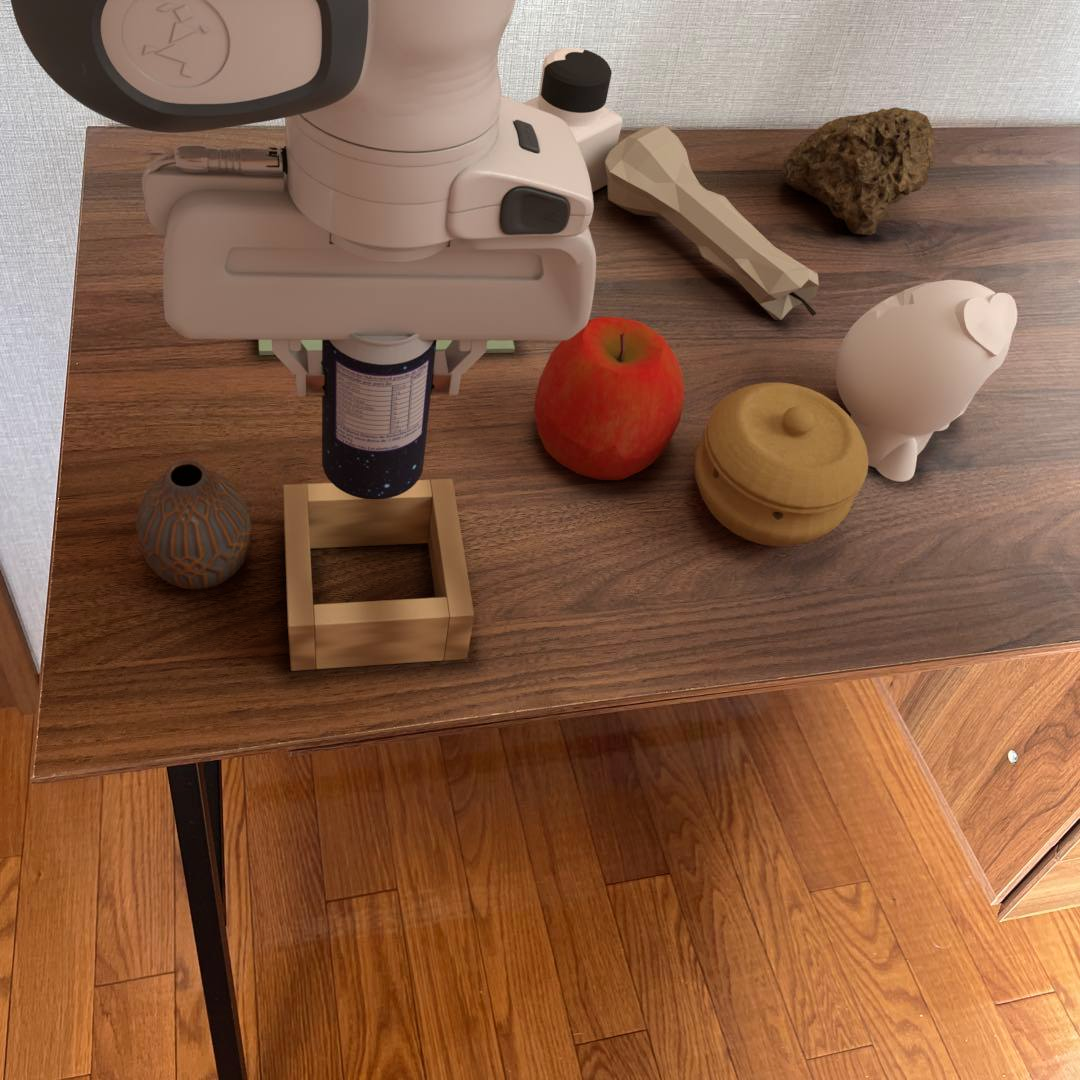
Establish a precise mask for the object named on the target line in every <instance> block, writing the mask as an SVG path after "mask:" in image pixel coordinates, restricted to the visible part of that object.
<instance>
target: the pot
mask: <svg viewBox="0 0 1080 1080" xmlns="http://www.w3.org/2000/svg"><path fill="white" fill-rule="evenodd" d="M703 433H704V434H703V436H702V437H701V438H700V440H699V442H698V443H697V446H696V450H695V453H694V456H693V469H694V479H695V481H696V484H697V485H696V486H697V488H698V490H699V493H700V496H701V498H702V500H703V502H704V503H705V505H706V507H707V509H708V510H709V512H710V513H711V515H712V516H713V517H714V518H715V519H716V520H717V521H718V522H719V523H720V524H721V525H722V526H723V527H725V528H726V529H727V530H729V531H731V533H733V534H734V535H737V536H739V537H741V538H743V539H745V540H747V541H750V542H753V543H756V544H759V545H763V546H770V547H791V546H797V545H800V544H805V543H809V542H812V541H815V540H817V539H819V538H821V537H823V536H825V535H827V534H828V533H830V532H832V531H833V530H835V529H836V528H837V527H838V526H839V525H840V524H841V523H842V522H843V521H844V520H845V519H846V518H847V516H848V514H849V512H850V510H851V507H852V505H853V503H854V502H853V501H854V498H855V497H856V496H857V495H858V494H859V493H860V491H861V488H862V486H863V485H864V482H865V480H866V477H867V475H868V472H869V465H868V463H869V460H868V454H867V448H866V444H865V442H864V440H863V438H862V435H861V433H860V431H859V429H858V427H857V426H856V424H855V423H854V422H853V421H852V419H851V418H850V415H849V414H848V413H847V412H846V411H845V410H844V409H843V408H841V406H840V405H839V404H837V403H836V402H834V401H833V400H832V399H830V398H828V397H827V396H826V395H824V394H822V393H820V392H818V391H816V390H813V389H812V388H809V387H806V386H801V385H798V384H795V383H787V382H782V381H781V382H780V381H779V382H777V381H775V382H760V383H755V384H750V385H747V386H744V387H741V388H739V389H737V390H735V391H733V392H730V393H729V394H727V395H726V396H725V397H723V398H722V399H721V400H720V401H719V402H717V404H716V405H715V407H714V408H713V410H712V411H711V412H710V414H709V417H708V418H707V421H706V425H705V427H704V432H703Z"/></svg>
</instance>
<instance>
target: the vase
mask: <svg viewBox="0 0 1080 1080" xmlns="http://www.w3.org/2000/svg"><path fill="white" fill-rule="evenodd" d="M250 513H251V512H250V510H249V507H248V504H247V503H246V501H245V499H244V497H243V495H242V494H241V492H240V491H239V489H237V487H236V486H235V485H234V483H232V481H230V480H229V479H228V478H226V477H225V476H223V475H221V474H220V473H218V472H216V471H213V470H211V469H208V468H207V467H206V466H205V465H203V464H202V463H201V462H199V461H196V460H193V459H183V460H178V461H176V462H174V463H172V464H171V465H169V467H168V468H167V469H166V471H165V473H164V474H163V475H161V477H159V478H157V479H156V480H155V481H154V482H153V483H152V484H151V485H150V486H149V487H148V489H147V490H146V492H145V493H144V495H143V496H142V498H141V501H140V504H139V507H138V510H137V516H136V521H135V522H136V524H135V526H136V527H135V529H136V530H135V531H136V539H137V542H138V545H139V548H140V551H141V553H142V556H143V558H144V560H145V561H146V562H147V564H148V566H149V567H150V568H151V570H153V572H154V573H155V574H156V575H157V576H158V577H160V578H161V579H163V580H164V581H165V582H167V583H169V584H170V585H172V586H175V587H179V588H183V589H188V590H189V589H190V590H203V589H209V588H213V587H215V586H218V585H220V584H222V583H224V582H226V581H227V580H228V579H230V578H232V577H233V576H234V575H235V574H236V573H237V572H238V571H239V570H240V568H241V567H242V566H243V564H244V562H245V560H246V559H247V556H248V554H249V551H250V547H251V543H252V532H253V531H252V530H253V527H252V519H251V518H252V517H251V514H250Z"/></svg>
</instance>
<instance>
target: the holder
mask: <svg viewBox="0 0 1080 1080" xmlns="http://www.w3.org/2000/svg"><path fill="white" fill-rule="evenodd" d="M282 501H283V502H282V503H283V528H284V532H283V533H284V551H285V552H284V554H285V555H284V557H285V577H286V578H285V583H286V585H285V586H286V608H287V609H286V611H287V631H288V632H287V633H288V635H287V636H288V649H289V663H290V671H292V672H297V671H298V672H299V671H310V670H324V669H325V670H326V669H337V668H352V667H367V666H368V667H369V666H383V665H395V664H396V665H397V664H410V663H411V664H412V663H425V662H427V663H428V662H438V661H439V662H441V661H444V662H445V661H458V660H467V659H468V656H469V655H468V654H469V649H470V643H471V636H472V629H473V624H474V620H475V619H474V618H475V611H474V606H473V605H474V604H473V599H472V593H471V586H470V581H469V574H468V567H467V561H466V554H465V548H464V543H463V536H462V529H461V523H460V518H459V511H458V504H457V497H456V492H455V485H454V479H453V478H431V479H419V480H418V481H417V482H416V484H415V485H414V486H413V487H412V488H410V489H409V490H407V491H406V492H404V493H402V494H400V495H398V496H395V497H391V498H387V499H380V500H368V499H362V498H359V497H355V496H352V495H349V494H347V493H345V492H343V491H341V490H340V489H338V488H337V487H336V486H335V485H334V484H332V483H331V482H319V483H317V482H316V483H292V484H291V483H289V484H283V485H282ZM415 544H416V545H419V544H427V547H428V554H429V563H430V568H431V569H430V570H431V576H432V583H433V590H434V597H422V598H405V599H389V600H388V599H387V600H372V601H371V600H370V601H354V602H353V601H352V602H336V603H334V602H333V603H318V604H317V603H316V604H314V595H313V578H312V576H313V575H312V562H311V561H312V560H311V549H328V548H332V549H333V548H351V547H370V546H371V547H373V546H395V545H396V546H397V545H415Z"/></svg>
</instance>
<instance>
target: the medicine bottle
mask: <svg viewBox="0 0 1080 1080" xmlns="http://www.w3.org/2000/svg"><path fill="white" fill-rule="evenodd" d="M612 74H613V73H612V68H611V67H610V65H609V63H608V62H607V60H606V59H605V58H603V57H602V56H600V55H599V54H598V53H595V52H593V51H590V50H587V49H585V48H580V47H562V48H557V49H555V50H553V51H551V52H549V53H548V54H547V55H546V56H545V57H544V60H543V64H542V70H541V75H540V76H541V77H540V84H539V91H538V96H535V97H534V98H530V99H529V100H527V101H525V102H524V101H523V102H522V103H523V104H525V105H528V106H531V107H533V108H536V109H539V110H542V111H544V112H547V113H550V114H552V115H555V116H557V117H559V118H561V119H562V120H564V121H565V122H566V123H567V124H568V126H569V128H570V130H571V131H572V133H573V135H574V137H575V139H576V141H577V143H578V146H579V148H580V150H581V153H582V155H583V158H584V161H585V163H586V167H587V170H588V173H589V178H590V182H591V188H592V194H593V193H594V192H596V191H598V190H600V189H602V188H604V187H606V186H608V183H607V172H606V165H605V161H606V158H607V156H608V154H609V152H610V151H611V150H612V149H613V148H614V147H615V146H616V145H617V144H618V143H619V138H620V134H621V129H622V125H623V117H622V116H621V115H619V114H617V113H616V112H615V111H612V109H610V108H608V107H606V104H607V98H608V94H609V88H610V85H611V84H610V83H611V78H612Z"/></svg>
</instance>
